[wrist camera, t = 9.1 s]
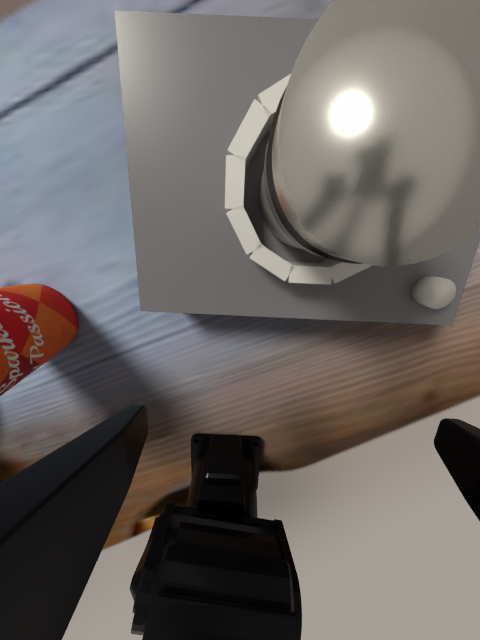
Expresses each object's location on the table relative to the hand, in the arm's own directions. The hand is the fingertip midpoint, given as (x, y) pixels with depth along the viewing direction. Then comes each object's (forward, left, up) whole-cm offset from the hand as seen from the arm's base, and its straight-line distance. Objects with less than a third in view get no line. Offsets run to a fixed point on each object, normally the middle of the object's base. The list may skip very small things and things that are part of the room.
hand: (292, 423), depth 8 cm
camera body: (+7, -2, -13) cm, 15 cm away
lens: (+7, -2, -8) cm, 11 cm away
